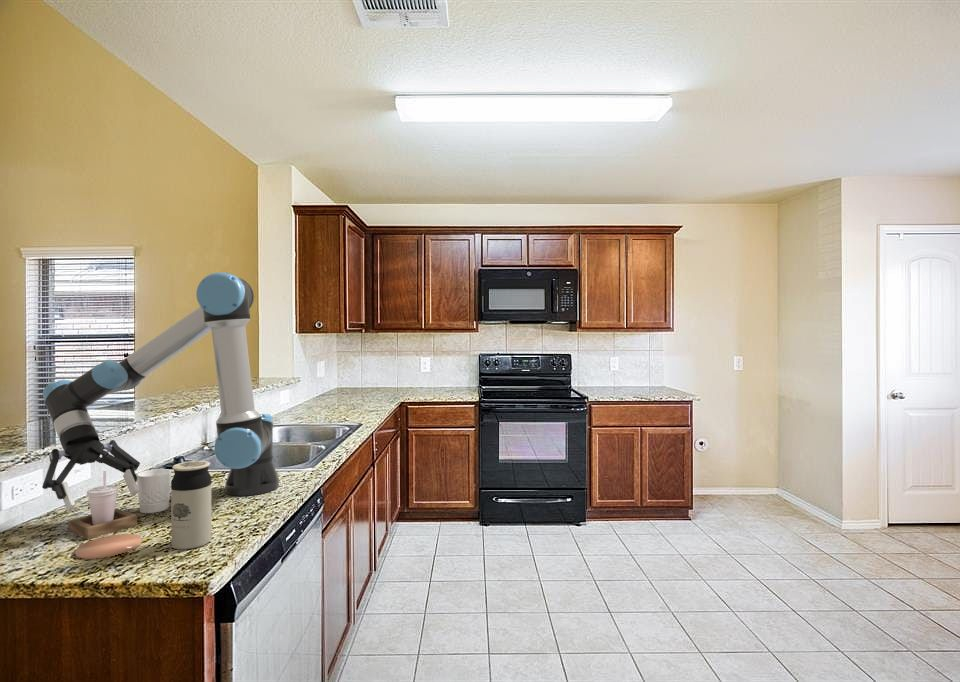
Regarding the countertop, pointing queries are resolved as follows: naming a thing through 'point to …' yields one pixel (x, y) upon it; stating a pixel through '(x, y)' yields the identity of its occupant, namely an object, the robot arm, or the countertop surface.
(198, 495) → the travel mug
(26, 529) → the countertop surface
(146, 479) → the white cup
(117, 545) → the coaster
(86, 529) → the brown square wooden frame
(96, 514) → the smoothie
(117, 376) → the robot arm
